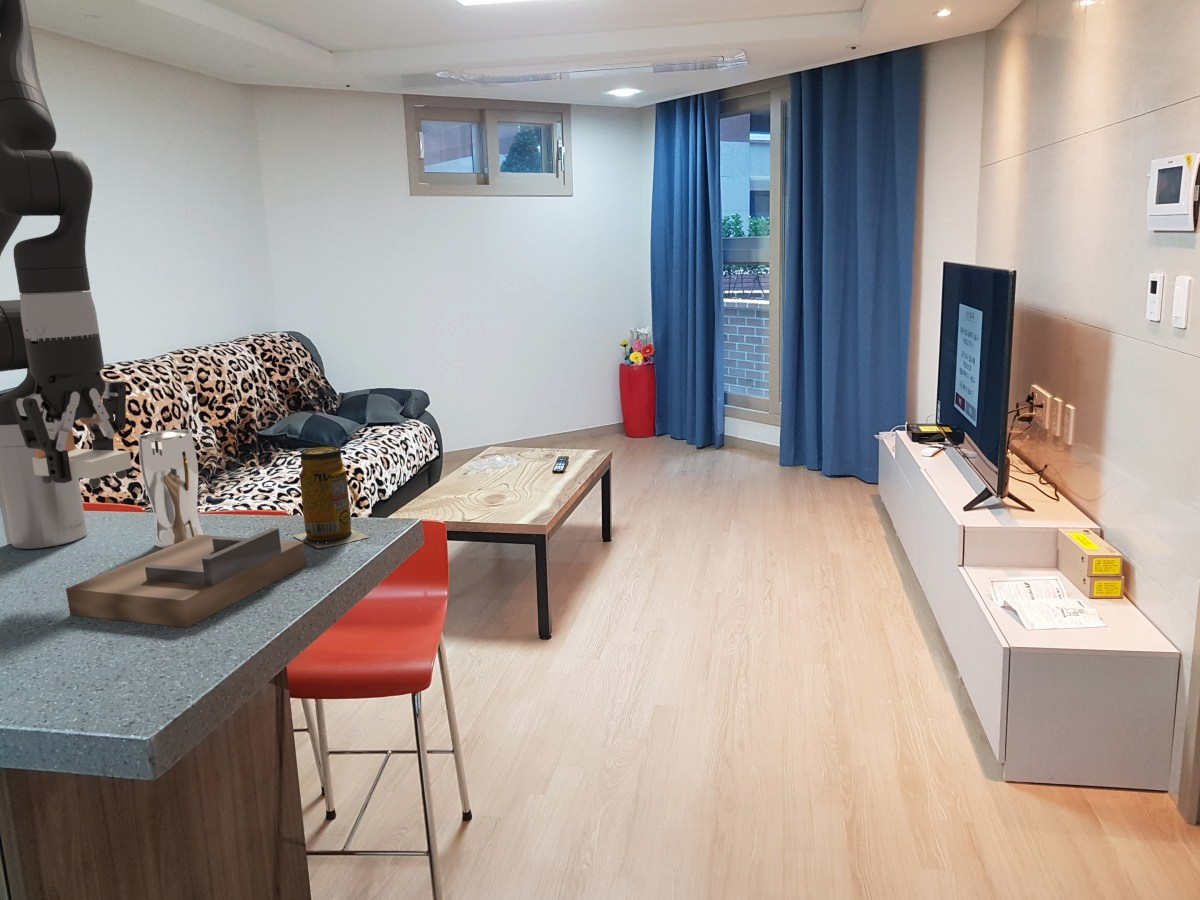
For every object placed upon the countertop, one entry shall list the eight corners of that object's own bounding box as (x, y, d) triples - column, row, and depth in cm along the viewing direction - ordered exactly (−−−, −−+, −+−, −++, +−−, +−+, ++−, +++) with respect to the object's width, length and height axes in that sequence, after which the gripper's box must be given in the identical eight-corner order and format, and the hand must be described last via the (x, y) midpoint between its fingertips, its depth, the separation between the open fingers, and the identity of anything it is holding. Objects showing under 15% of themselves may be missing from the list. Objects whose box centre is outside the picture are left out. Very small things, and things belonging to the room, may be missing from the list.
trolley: (36, 485, 110) (28, 438, 109) (75, 473, 115) (68, 429, 114) (95, 489, 107) (88, 441, 106) (133, 477, 112) (126, 431, 111)
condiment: (343, 525, 132) (334, 442, 130) (369, 538, 126) (361, 451, 123) (292, 537, 128) (282, 451, 125) (317, 550, 122) (307, 460, 119)
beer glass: (218, 538, 129) (204, 431, 126) (172, 552, 123) (156, 440, 120) (187, 531, 133) (172, 427, 130) (141, 545, 127) (124, 437, 124)
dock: (70, 614, 102) (61, 562, 101) (201, 557, 121) (195, 512, 119) (188, 627, 97) (180, 572, 96) (306, 565, 116) (300, 518, 114)
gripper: (88, 326, 115) (108, 461, 119) (-21, 338, 102) (5, 489, 105) (136, 326, 113) (155, 463, 116) (30, 338, 99) (56, 493, 103)
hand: (84, 475), depth 111 cm, fingers closed on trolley, 5 cm apart
